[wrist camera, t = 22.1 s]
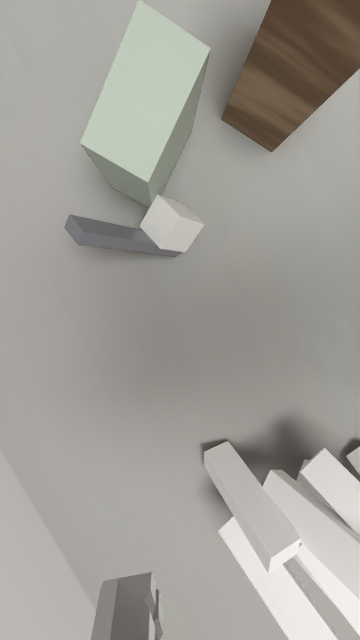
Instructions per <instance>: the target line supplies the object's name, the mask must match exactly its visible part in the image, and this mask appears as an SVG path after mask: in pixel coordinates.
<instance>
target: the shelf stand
mask: <svg viewBox="0 0 360 640" xmlns="http://www.w3.org/2000/svg"><path fill="white" fill-rule="evenodd" d="M359 68H360V0H271V3H270V5H269V8H268V10H267V12H266V15H265V17H264V19H263V22H262V24H261V26H260V29H259V31H258V33H257V36H256V38H255V40H254V43H253V45H252V47H251V50H250V52H249V55H248V57H247V59H246V62H245V64H244V66H243V69H242V71H241V73H240V76H239V78H238V80H237V83H236V85H235V87H234V90H233V92H232V94H231V97H230V99H229V102H228V104H227V106H226V109H225V111H224V113H223V116H222V118H221V119H222V120H223V121H225V122H226V123H228V124H229V125H231V126H232V127H234V128H235V129H237V130H239V131H240V132H242V133H243V134H245V135H246V136H248V137H249V138H251V139H252V140H254V141H255V142H257V143H259V144H260V145H262V146H263V147H265V148H266V149H268V150H269V151H271V152H273V151H274V150H275V149H276V148H277V147H278V146H279V145H280V144H281V143H282V142H283V141H284V140H285V139H286V138H287V137H288V136H289V135H290V134H291V133H292V132H293V131H295V130H296V129H297V128H298V127H299V126H300V125H301V124H302V123H303V122H304V121H305V120H306V119H307V118H308V117H309V116H310V115H311V114H312V113H313V112H314V111H315V110H316V109H318V108H319V107H320V106H321V105H322V104H323V103H324V102H325V101H326V100H327V99H328V98H329V97H330V96H331V95H332V94H333V93H334V92H335V91H336V90H337V89H338V88H339V87H341V86H342V85H343V84H344V83H345V82H346V81H347V80H348V79H349V78H350V77H351V76H352V75H353V74H354V73H355V72H356V71H357V70H358V69H359Z"/></svg>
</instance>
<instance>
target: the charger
mask: <svg viewBox="0 0 360 640" xmlns="http://www.w3.org/2000/svg"><path fill="white" fill-rule="evenodd" d="M204 225H205V224H204V223H203V222H202V221H201V220H200V219H199V218H198V217H197V216H196V215H194V214H193V213H192V212H191V211H190V210H189V209H188V208H187V207H186V206H185V205H184V204H182V203H179V202H177V201H174V200H172V199H169V198H167V197H164V196H162V195H159V194H157V195H156V197H155V199H154V201H153V203H152V204H151V206H150V208H149V210H148V212H147V213H146V215H145V217H144V219H143V221H142V223H141V224H140V227H141V228H142V229H143V230H139V229H134V228H129V227H125V226H120V225H116V224H111V223H106V222H102V221H97V220H92V219H88V218H83V217H79V216H74V215H69V217H68V220H67V222H66V225H65V227H64V228H65V229H66V230H67V231H68V233H69V234H70V235H71V237H72V238H73V239H74V241H75V242H76V243H77V244H78V245H84V246H93V247H101V248H109V249H117V250H125V251H133V252H142V253H150V254H158V255H166V256H174V257H176V256H177V254H178V253H179V252H185V253H186V251H187V250H188V248H189V247H190V245H191V244H192V242H193V241H194V239H195V238H196V237H197V235H198V234H199V232H200V231H201V229H202V228H203V226H204Z"/></svg>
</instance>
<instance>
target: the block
mask: <svg viewBox="0 0 360 640" xmlns="http://www.w3.org/2000/svg"><path fill="white" fill-rule="evenodd" d="M210 49H211V48H209V47H208V46H206V45H205V44H204V43H202V42H201V41H199V40H198V39H196V38H195V37H193V36H192V35H191V34H189V33H188V32H186V31H185V30H183V29H182V28H180V27H179V26H177V25H176V24H175V23H173V22H172V21H170V20H169V19H167V18H166V17H164V16H163V15H162V14H160V13H159V12H157V11H156V10H154V9H153V8H151V7H150V6H149V5H147V4H146V3H144V2H143V1H141V0H139V1H138V3H137V6H136V8H135V11H134V13H133V16H132V18H131V20H130V23H129V25H128V28H127V30H126V33H125V35H124V37H123V40H122V42H121V45H120V47H119V50H118V52H117V54H116V57H115V59H114V62H113V64H112V66H111V69H110V71H109V74H108V76H107V79H106V81H105V83H104V86H103V88H102V91H101V93H100V96H99V98H98V100H97V103H96V105H95V108H94V110H93V113H92V115H91V117H90V120H89V122H88V125H87V127H86V129H85V132H84V134H83V137H82V139H81V142H80V144H81V146H82V147H83V148H84V150H85V151H86V152H87V154H88V155H89V157H90V158H91V159H92V161H93V162H94V163H95V165H96V166H97V168H98V169H99V170H100V172H101V173H102V174H103V176H104V177H105V179H106V180H107V181H108V183H109V184H110V185H111V187H112V188H114V189H116V190H118V191H119V192H121V193H123V194H125V195H126V196H128V197H130V198H132V199H134V200H135V201H137V202H139V203H141V204H143V205H144V206H146V207H148V208H150V206H151V204H152V203H153V201H154V199H155V197H156V195H157V194H159V195H161V194H162V192H163V190H164V188H165V185H166V183H167V181H168V179H169V177H170V175H171V173H172V171H173V169H174V167H175V165H176V163H177V160H178V158H179V156H180V154H181V152H182V150H183V148H184V146H185V144H186V142H187V140H188V137H189V135H190V133H191V131H192V127H193V123H194V118H195V114H196V110H197V105H198V101H199V97H200V93H201V88H202V84H203V80H204V75H205V71H206V67H207V62H208V58H209V54H210Z"/></svg>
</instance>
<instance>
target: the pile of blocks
mask: <svg viewBox="0 0 360 640" xmlns="http://www.w3.org/2000/svg"><path fill="white" fill-rule="evenodd" d="M346 457H347V458H348V460H349V461H350V462H351V464H352V465H353V467H354V468H355V469H356V471H357V472H358V473H359V475H360V446H359V447H358V448H357V449H355V450H354V451H353V452H351V453H350V454H348V455H347V456H346ZM204 467H205V469H206V470H207V472H208V474H209V476H210V477H211V479H212V481H213V482H214V484H215V486H216V487H217V489H218V491H219V492H220V494H221V496H222V497H223V499H224V501H225V502H226V504H227V506H228V507H229V509H230V511H231V512H232V514H233V517H232V518H231V519H230V520H229V521H228V522H227V523H226V524H225V525H224V526H223V527H222V528H221V529H220V530H219V531H218V532H219V533H220V535H221V536H222V538H223V539H224V541H225V542H226V544H227V546H228V547H229V549H230V550H231V552H232V553H233V555H234V556H235V558H236V559H237V561H238V562H239V564H240V565H241V567H242V568H243V570H244V572H245V573H246V575H247V576H248V578H249V579H250V581H251V582H252V584H253V585H254V587H255V588H256V590H257V591H258V593H259V594H260V596H261V598H262V599H263V601H264V602H265V604H266V605H267V607H268V608H269V610H270V611H271V613H272V614H273V616H274V617H275V619H276V620H277V622H278V624H279V625H280V627H281V628H282V630H283V631H284V633H285V634H286V636H287V637H288V639H289V640H338V637H337V634H336V631H335V628H334V626H333V625H332V623H331V622H330V621H329V619H328V618H327V617H326V615H325V614H324V613H323V611H322V610H321V608H320V607H319V606H318V604H317V603H316V602H315V600H314V599H313V598H312V596H311V595H310V594H309V592H308V591H307V590H306V588H305V587H304V586H303V584H302V583H301V582H300V580H299V579H298V577H297V576H296V575H295V573H294V572H293V571H292V569H291V568H290V567H289V565H288V564H287V563H286V561H287V560H289V559H290V558H291V557H294V558H295V560H296V561H297V562H298V563H299V564H300V565H301V566H302V568H303V569H304V570H305V571H306V572H307V573H308V574H309V576H310V577H311V578H312V579H313V580H314V581H315V582H316V584H317V585H318V586H319V587H320V588H321V589H322V590H323V592H324V593H325V594H326V595H327V596H328V597H329V598H330V600H331V601H332V602H333V603H334V604H335V605H336V607H337V608H338V609H339V610H340V611H341V612H342V614H343V615H344V616H345V618H346V619H347V620H348V621H349V623H350V624H351V625H352V627H353V628H354V629H355V631H356V632H357V633H358V634H359V636H360V482H359V481H358V480H357V479H356V478H355V477H354V476H353V475H352V474H351V473H350V472H349V471H348V470H347V469H346V468H345V467H344V466H343V465H342V464H341V463H340V462H339V461H338V460H337V459H336V458H335V457H334V456H333V455H332V454H331V453H329V452H328V451H327V450H326V449H325V448H323V449H321V450H320V451H319V452H318V453H317V454H316V455H315V456H314V457H313V458H312V459H311V460H304V462H303V465H302V467H301V470H300V471H299V475H298V477H297V480H296V481H295V480H294V479H293V478H292V477H290V476H289V475H288V474H287V473H285V472H284V471H283V470H270V472H269V474H268V476H267V478H266V480H265V482H264V484H263V486H262V485H261V484H260V483H259V482H258V480H257V479H256V478H255V476H254V475H253V474H252V472H251V471H250V470H249V468H248V467H247V466H246V464H245V463H244V462H243V460H242V459H241V458H240V456H239V455H238V454H237V452H236V451H235V450H234V448H233V447H232V446H231V444H230V443H229V442H228V441H226V442H224V443H222V444H220V445H218V446H215V447H213V448H211V449H209V450H207V451H204Z"/></svg>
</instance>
